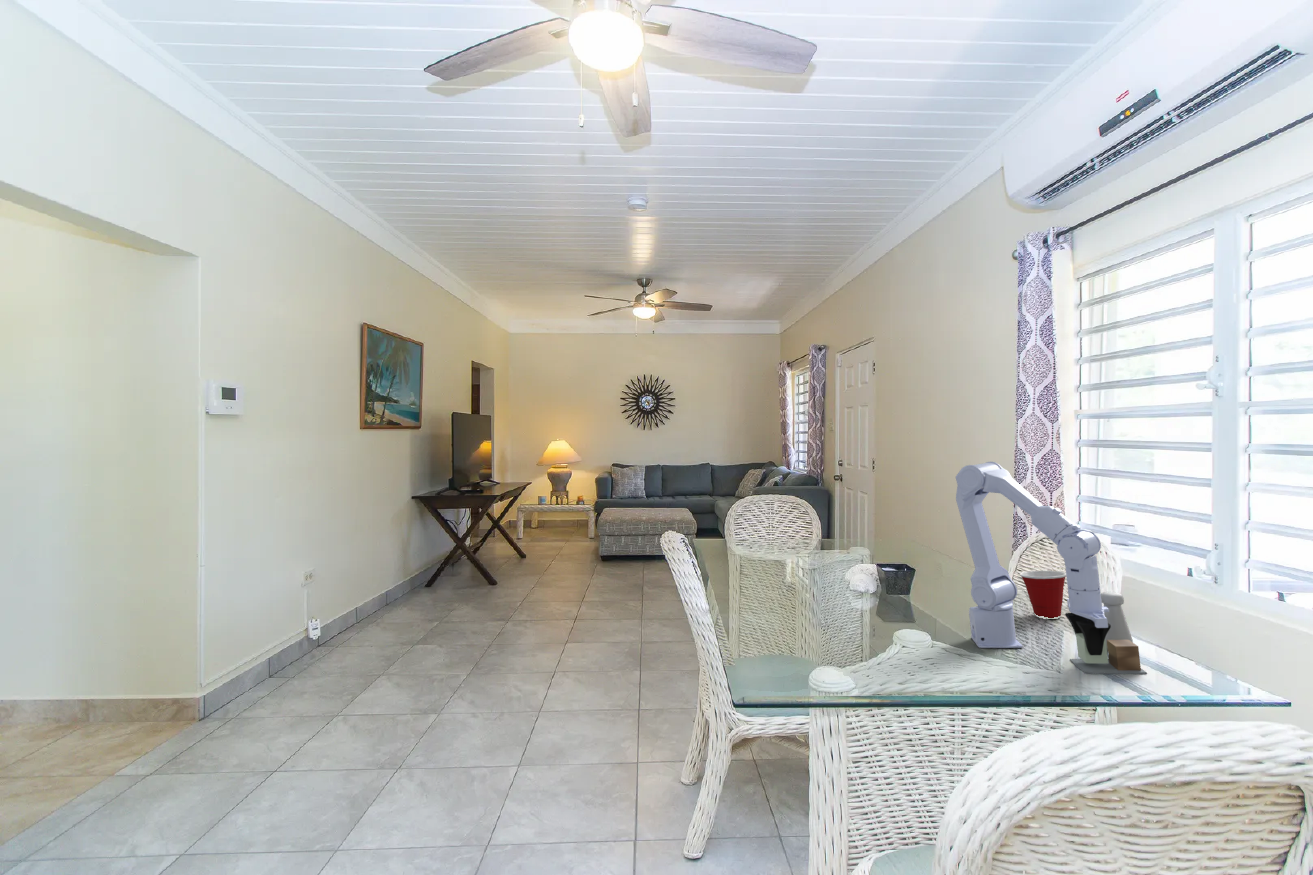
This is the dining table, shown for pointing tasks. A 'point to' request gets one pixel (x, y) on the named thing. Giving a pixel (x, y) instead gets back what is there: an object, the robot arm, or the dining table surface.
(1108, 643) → the walnut block
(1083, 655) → the sage block
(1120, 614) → the salt shaker
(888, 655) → the dining table surface
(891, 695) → the dining table surface
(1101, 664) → the slate mat
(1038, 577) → the plastic cup
